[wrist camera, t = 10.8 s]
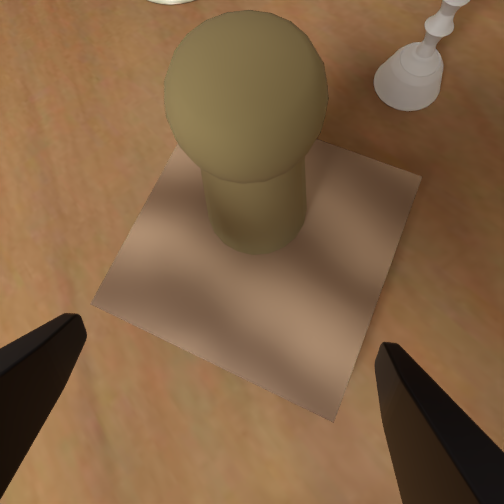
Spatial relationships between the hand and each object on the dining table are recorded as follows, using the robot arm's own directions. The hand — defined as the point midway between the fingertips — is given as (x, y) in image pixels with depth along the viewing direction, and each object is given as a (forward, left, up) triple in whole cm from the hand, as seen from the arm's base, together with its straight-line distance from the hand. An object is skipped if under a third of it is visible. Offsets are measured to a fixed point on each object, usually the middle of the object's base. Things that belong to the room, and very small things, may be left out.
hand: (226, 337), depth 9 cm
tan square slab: (+5, +1, -12) cm, 13 cm away
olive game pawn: (+7, +2, -9) cm, 11 cm away
